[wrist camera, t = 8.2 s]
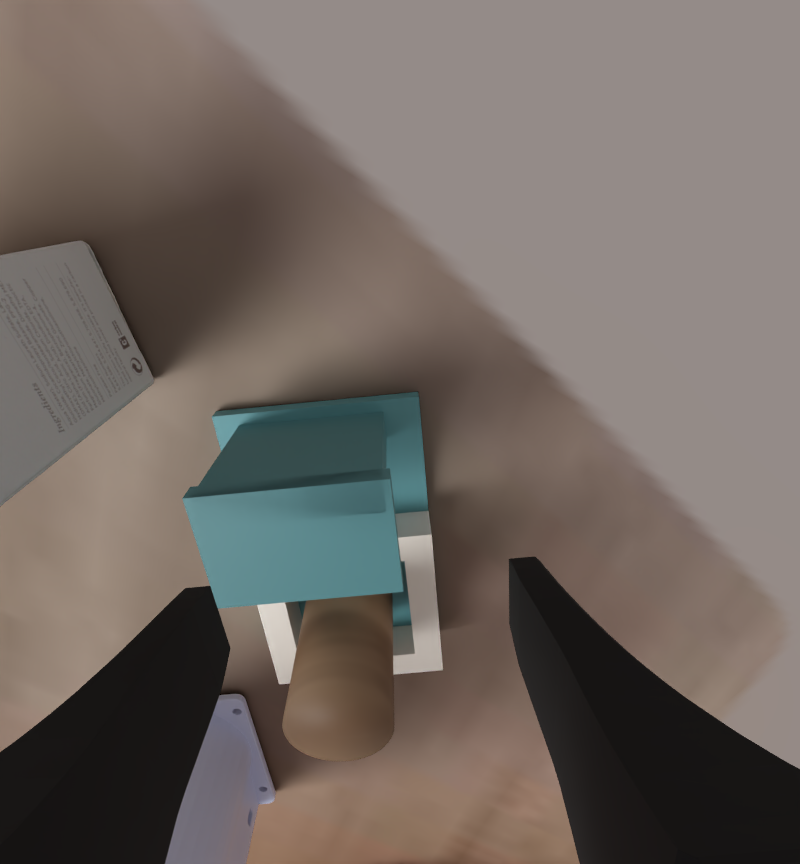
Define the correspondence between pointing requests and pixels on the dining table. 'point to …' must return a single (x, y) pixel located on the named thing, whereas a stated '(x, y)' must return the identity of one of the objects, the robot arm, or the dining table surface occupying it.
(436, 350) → the dining table surface
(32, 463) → the skincare box
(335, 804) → the dining table surface
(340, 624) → the peg
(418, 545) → the station
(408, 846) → the dining table surface
